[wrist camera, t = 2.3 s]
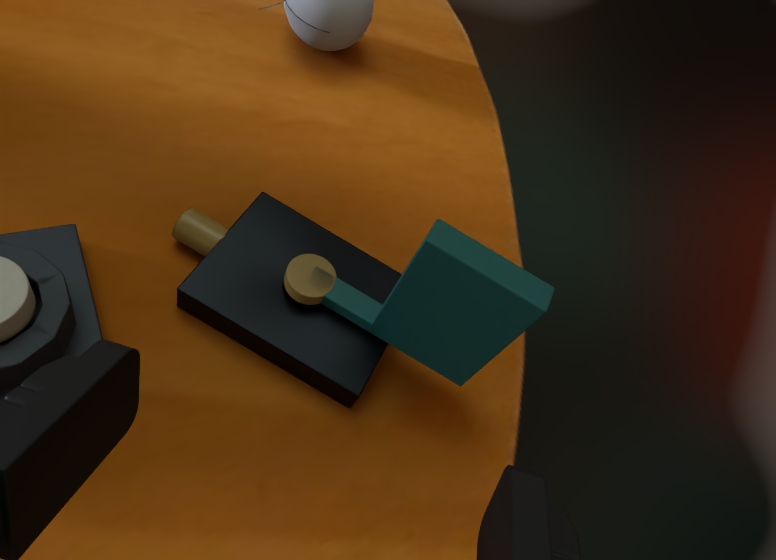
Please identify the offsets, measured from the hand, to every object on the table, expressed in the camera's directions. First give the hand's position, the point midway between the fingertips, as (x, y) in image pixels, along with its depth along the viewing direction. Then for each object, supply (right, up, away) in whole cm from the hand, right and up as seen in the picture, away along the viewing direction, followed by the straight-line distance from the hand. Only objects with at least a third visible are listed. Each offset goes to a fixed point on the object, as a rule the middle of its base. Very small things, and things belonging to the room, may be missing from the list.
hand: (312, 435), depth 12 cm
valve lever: (+1, +1, +23) cm, 23 cm away
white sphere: (-6, +24, +38) cm, 45 cm away
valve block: (-5, +2, +25) cm, 26 cm away
